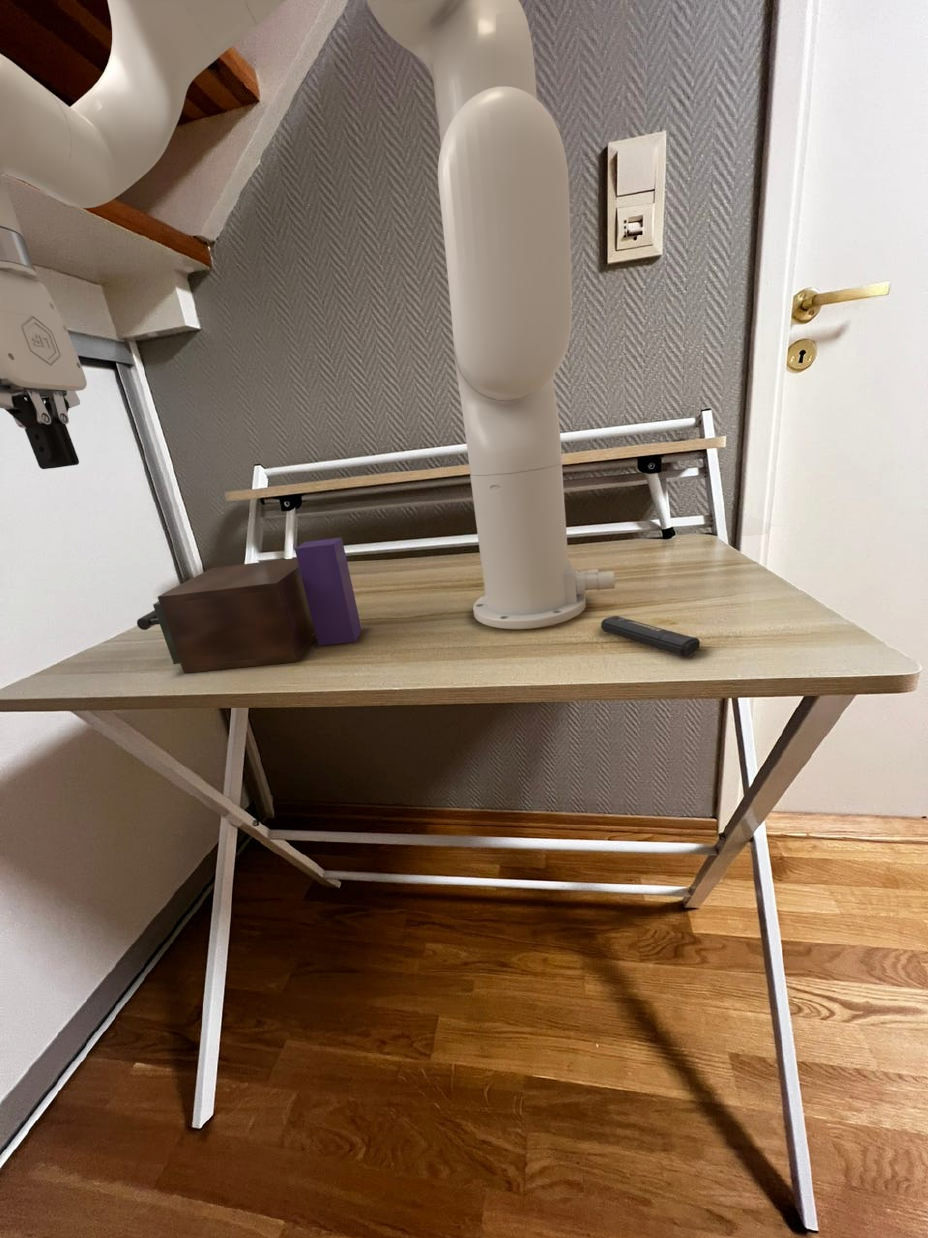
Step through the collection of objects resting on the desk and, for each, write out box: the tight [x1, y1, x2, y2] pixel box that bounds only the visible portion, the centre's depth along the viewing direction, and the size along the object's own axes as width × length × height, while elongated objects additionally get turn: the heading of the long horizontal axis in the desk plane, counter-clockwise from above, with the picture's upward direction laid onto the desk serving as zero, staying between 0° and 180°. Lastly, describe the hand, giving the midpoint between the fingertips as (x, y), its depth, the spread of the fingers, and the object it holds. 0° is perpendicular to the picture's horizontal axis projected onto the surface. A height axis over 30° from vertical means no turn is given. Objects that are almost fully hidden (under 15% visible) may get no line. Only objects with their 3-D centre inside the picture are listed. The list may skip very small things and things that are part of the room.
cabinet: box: [157, 557, 317, 674], centre depth 60 cm, size 13×11×9 cm
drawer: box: [136, 600, 181, 665], centre depth 60 cm, size 15×10×7 cm, turn 87°
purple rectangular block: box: [294, 537, 363, 647], centre depth 58 cm, size 4×3×11 cm
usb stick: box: [600, 615, 701, 658], centre depth 48 cm, size 10×3×2 cm, turn 33°
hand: (60, 466), depth 55 cm, fingers closed
